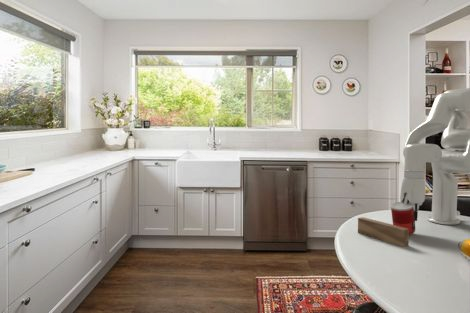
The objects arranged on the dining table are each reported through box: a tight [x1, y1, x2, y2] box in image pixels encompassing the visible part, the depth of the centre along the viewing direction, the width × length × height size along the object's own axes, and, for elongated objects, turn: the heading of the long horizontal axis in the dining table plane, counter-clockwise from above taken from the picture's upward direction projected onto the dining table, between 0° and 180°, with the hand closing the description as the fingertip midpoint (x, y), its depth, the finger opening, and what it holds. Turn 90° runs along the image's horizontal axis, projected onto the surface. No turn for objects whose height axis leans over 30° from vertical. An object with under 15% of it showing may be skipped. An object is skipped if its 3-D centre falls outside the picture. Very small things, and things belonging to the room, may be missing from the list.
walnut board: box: [357, 216, 410, 247], centre depth 137 cm, size 3×20×6 cm, turn 31°
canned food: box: [390, 201, 416, 236], centre depth 143 cm, size 8×8×11 cm
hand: (412, 220), depth 146 cm, fingers closed
